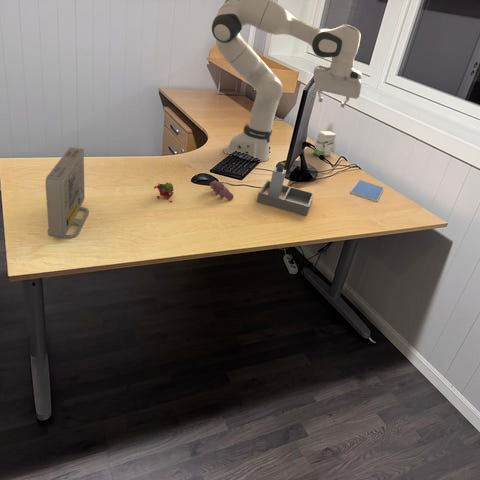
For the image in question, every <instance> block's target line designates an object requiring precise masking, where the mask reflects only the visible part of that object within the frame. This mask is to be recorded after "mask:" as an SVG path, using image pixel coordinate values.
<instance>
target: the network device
mask: <svg viewBox="0 0 480 480" xmlns="http://www.w3.org/2000/svg"><path fill="white" fill-rule="evenodd" d="M84 150H85V149H84V148H79V147H72V146H71V147H68V149H67V150H66V152H65V153H64V154H63V155H62V157H61V158H60V159H59V161H58V162H57V163H56V164H55V166H54V167H53V168H52V170H51V171H50V172H49V173H48V175H47V176H46V178H45V195H46V196H45V200H46V208H47V209H46V210H47V211H46V212H47V223H48V224H47V225H48V229H47V235H48V236H49V237H52V238H57V239H58V238H59V239H65V240H68V239H74V238H76V237H78V236H79V235H80V234H81V233H80V232H81V231H82V228H83V226H84V225H85V223H86V221H87V218H88V216H89V214H90V210H89V208H87V207H83V206H82V205H83V203H84V201H85V159H84V158H85V153H84ZM79 211H81V212H85V213H84V214H83V217H82V218H76V216H77V214H78V213H79ZM71 226H76V227H77V229H76V230H75V232H74V234H67V233H68V231H69V229H70V227H71Z"/></svg>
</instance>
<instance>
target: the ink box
mask: <svg viewBox="0 0 480 480" xmlns="http://www.w3.org/2000/svg"><path fill="white" fill-rule="evenodd" d="M336 136H337V134H336V133H334V132H333V131H330V130H328V131H327V130H325V131H324V130H323V131H319V132H318V135H317V139H316V143H315V145H314V149H313V153H314V154H315V155H317V156H318V157H321V156H320V155H323V156H322V157H325V156H331V154H332V149H333V147H334V143H335V141H336ZM315 148H316V149H315Z"/></svg>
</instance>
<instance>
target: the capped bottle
mask: <svg viewBox="0 0 480 480" xmlns="http://www.w3.org/2000/svg"><path fill="white" fill-rule="evenodd" d="M284 168H285V162H283V161H282V162H281V161H278V162H277V166H276V167H274V169H273V171H272V175H271V179H270V181H271V183H270V187H269V192H268V195H271V196H275V197H278V198H279V197H280V195H281V191H282V186H283V185H284V182H285V177H286V174H287V170H286V169H284Z"/></svg>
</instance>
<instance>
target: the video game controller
mask: <svg viewBox="0 0 480 480" xmlns="http://www.w3.org/2000/svg"><path fill="white" fill-rule="evenodd" d="M209 186H210V187H209V188H210V189H211V190H212V191H213V192H214V193H215V194H216V195H219V197H220V198H221V199H223V198H226V199H227V200H233V199H234V194H233V193H232V192H231V191H230V189H228V187H226V186H225V185H224V183H223V182H221V181H217V180H216V179H214V180H212V181H211V182H209Z"/></svg>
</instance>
